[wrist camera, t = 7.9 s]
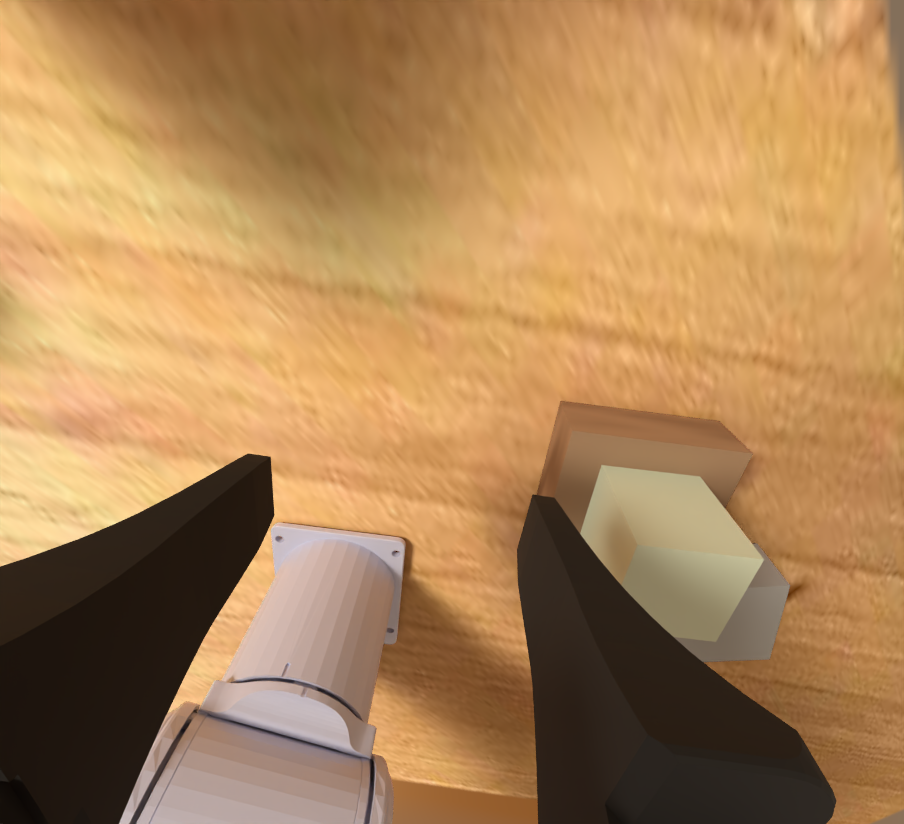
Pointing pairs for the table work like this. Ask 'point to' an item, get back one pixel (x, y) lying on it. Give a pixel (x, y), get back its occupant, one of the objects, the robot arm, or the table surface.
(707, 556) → the sage block
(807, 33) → the table surface
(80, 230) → the table surface
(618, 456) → the walnut block
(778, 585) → the slate block
